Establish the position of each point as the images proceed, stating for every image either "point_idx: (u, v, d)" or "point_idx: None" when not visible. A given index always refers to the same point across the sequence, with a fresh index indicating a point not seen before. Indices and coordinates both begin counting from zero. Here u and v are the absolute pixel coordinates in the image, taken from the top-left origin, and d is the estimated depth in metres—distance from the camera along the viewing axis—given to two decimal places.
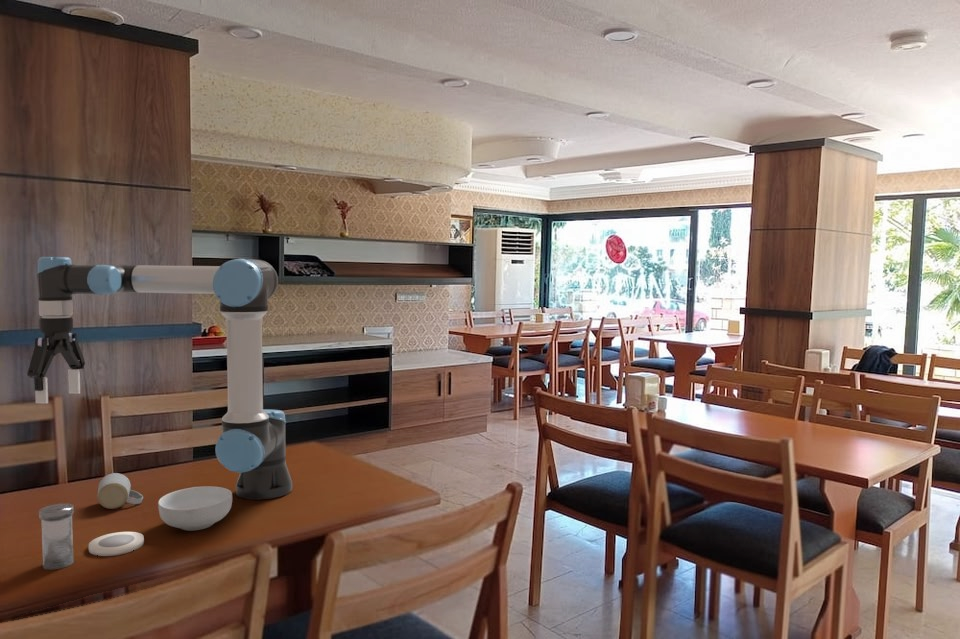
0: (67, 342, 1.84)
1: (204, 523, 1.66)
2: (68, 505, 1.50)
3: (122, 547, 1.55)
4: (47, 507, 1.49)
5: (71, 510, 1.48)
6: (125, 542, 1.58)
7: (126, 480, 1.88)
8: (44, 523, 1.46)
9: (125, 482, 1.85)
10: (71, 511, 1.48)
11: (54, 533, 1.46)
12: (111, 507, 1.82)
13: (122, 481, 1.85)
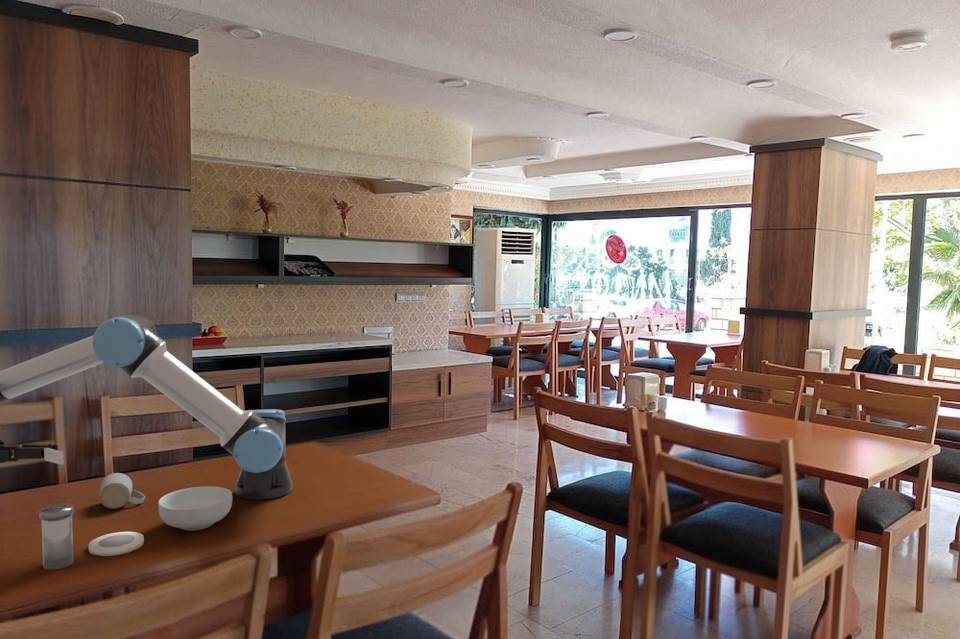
0: (1, 445, 1.61)
1: (204, 523, 1.66)
2: (68, 505, 1.50)
3: (122, 547, 1.55)
4: (47, 507, 1.49)
5: (71, 510, 1.48)
6: (125, 542, 1.58)
7: (128, 480, 1.88)
8: (44, 523, 1.46)
9: (127, 482, 1.86)
10: (71, 511, 1.48)
11: (54, 533, 1.46)
12: (113, 507, 1.82)
13: (124, 481, 1.85)
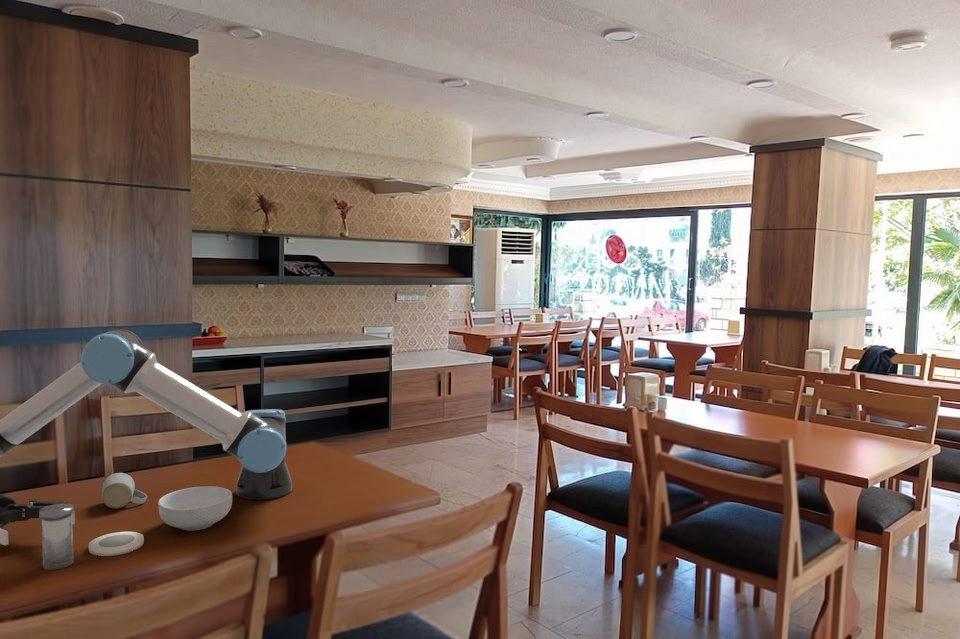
0: (12, 504, 1.59)
1: (204, 523, 1.66)
2: (68, 505, 1.50)
3: (122, 547, 1.55)
4: (47, 507, 1.49)
5: (71, 510, 1.48)
6: (125, 542, 1.58)
7: (131, 479, 1.88)
8: (44, 523, 1.46)
9: (129, 482, 1.86)
10: (71, 511, 1.48)
11: (54, 533, 1.46)
12: (115, 507, 1.82)
13: (126, 480, 1.85)
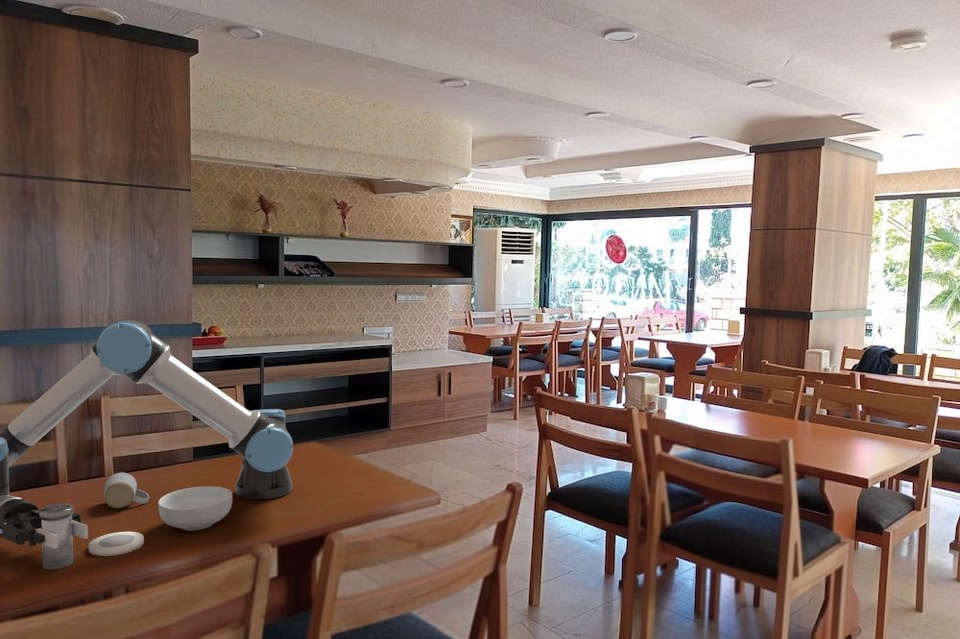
0: (34, 510, 1.55)
1: (204, 523, 1.66)
2: (68, 505, 1.50)
3: (122, 547, 1.55)
4: (47, 507, 1.49)
5: (71, 510, 1.48)
6: (125, 542, 1.58)
7: (133, 479, 1.88)
8: (44, 523, 1.46)
9: (131, 481, 1.86)
10: (71, 511, 1.48)
11: None
12: (117, 506, 1.82)
13: (128, 480, 1.85)
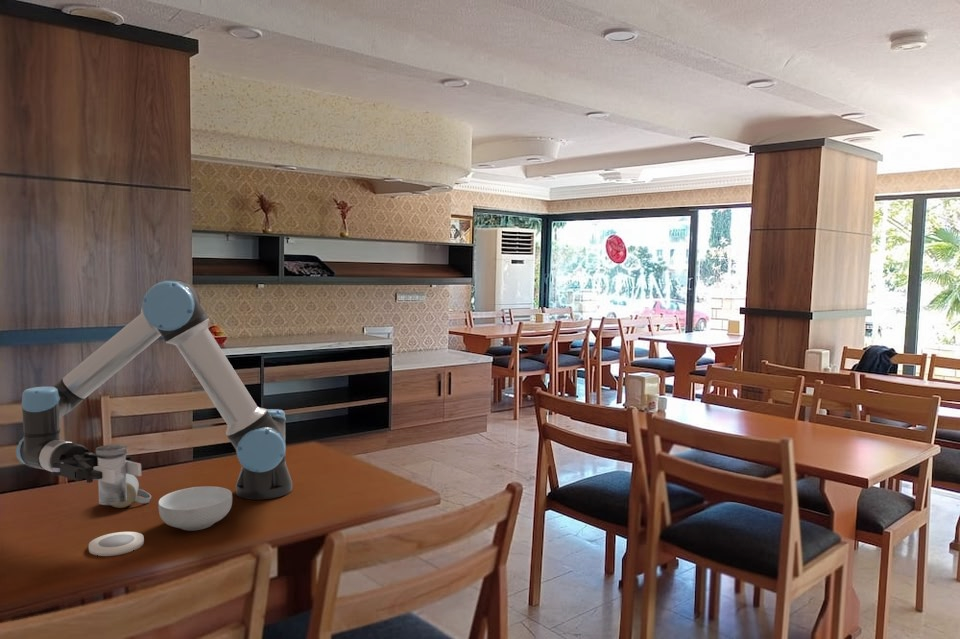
0: (87, 453, 1.63)
1: (204, 523, 1.66)
2: (121, 445, 1.58)
3: (122, 547, 1.55)
4: (102, 447, 1.57)
5: (125, 449, 1.57)
6: (125, 542, 1.58)
7: (135, 479, 1.88)
8: (100, 461, 1.54)
9: (133, 481, 1.86)
10: (125, 450, 1.57)
11: None
12: (119, 506, 1.82)
13: (130, 480, 1.85)
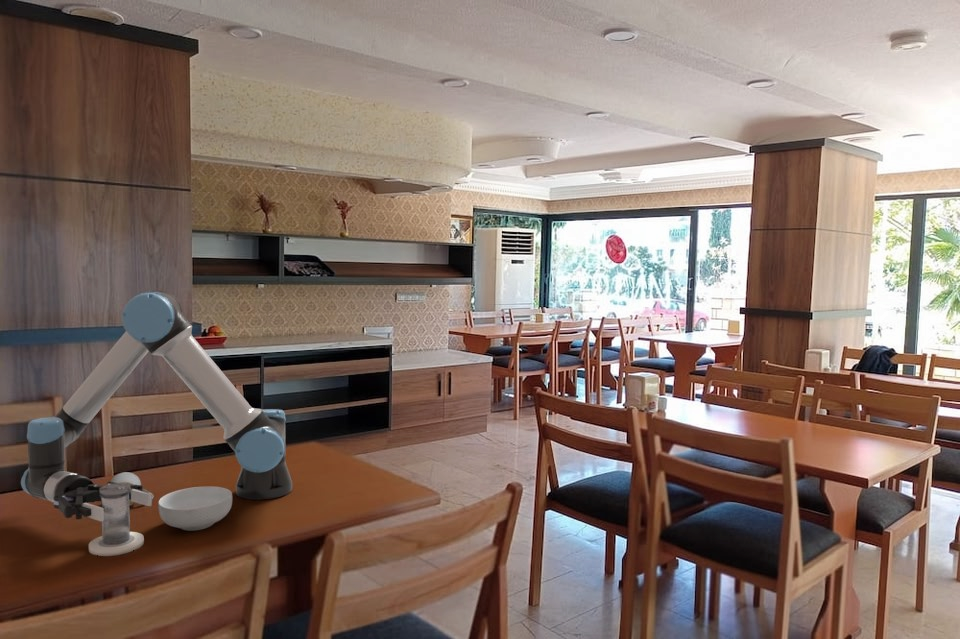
0: (91, 485, 1.65)
1: (204, 523, 1.66)
2: (125, 484, 1.60)
3: (122, 547, 1.55)
4: (106, 486, 1.59)
5: (128, 489, 1.58)
6: (125, 542, 1.58)
7: (137, 479, 1.89)
8: (104, 501, 1.56)
9: (136, 481, 1.86)
10: (128, 490, 1.58)
11: (114, 510, 1.56)
12: None
13: (133, 480, 1.85)
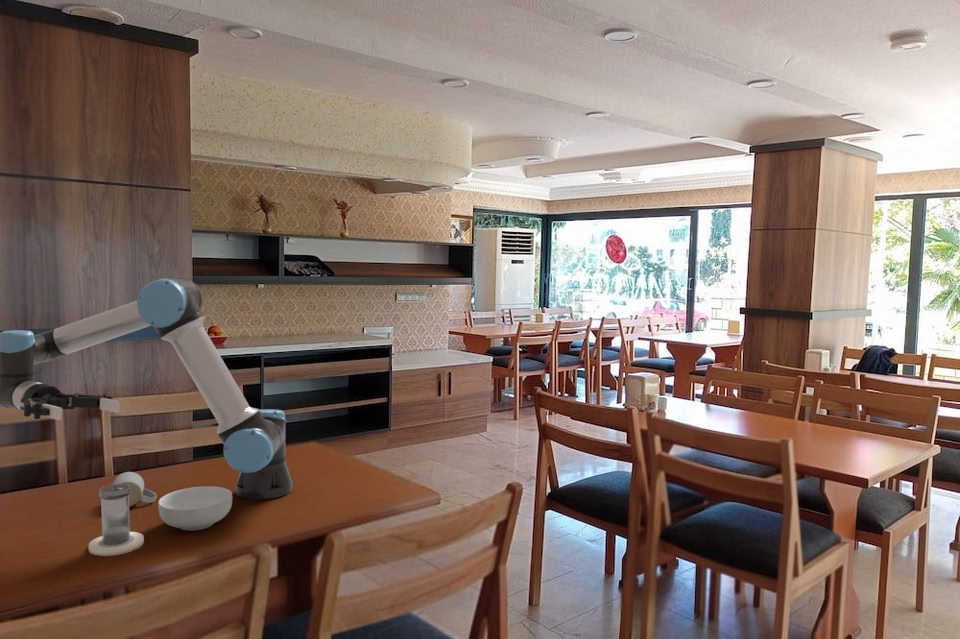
0: (60, 393, 1.70)
1: (204, 523, 1.66)
2: (125, 485, 1.60)
3: (122, 547, 1.55)
4: (106, 487, 1.58)
5: (128, 489, 1.58)
6: (125, 542, 1.58)
7: (140, 478, 1.89)
8: (104, 502, 1.55)
9: (139, 481, 1.87)
10: (128, 490, 1.58)
11: (114, 511, 1.56)
12: None
13: (136, 480, 1.86)
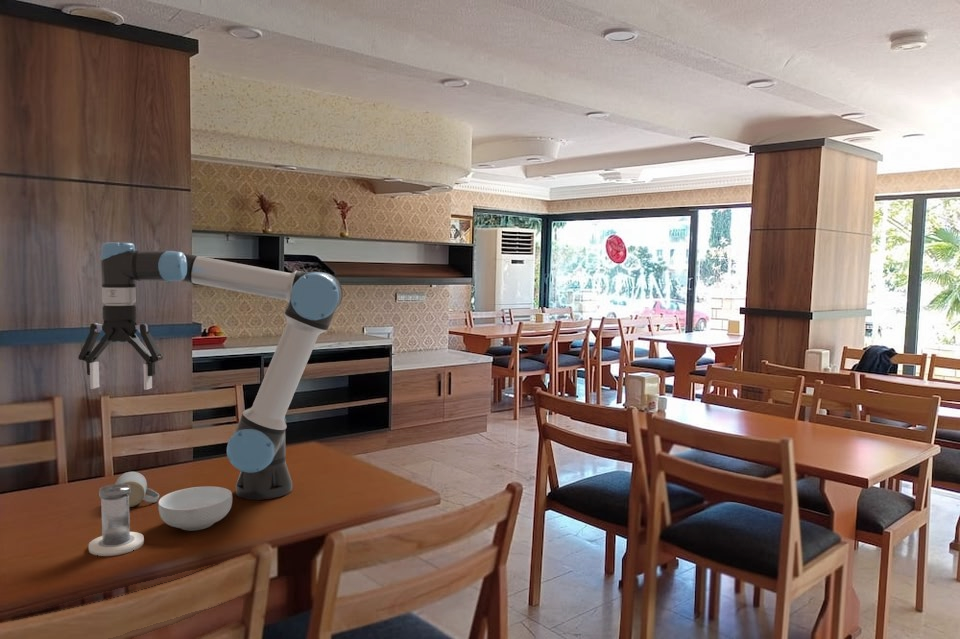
0: None
1: (204, 523, 1.66)
2: (125, 485, 1.60)
3: (122, 547, 1.55)
4: (106, 487, 1.58)
5: (128, 490, 1.58)
6: (125, 542, 1.58)
7: (143, 478, 1.89)
8: (104, 502, 1.55)
9: (142, 480, 1.87)
10: (128, 490, 1.58)
11: (114, 511, 1.56)
12: None
13: (139, 479, 1.86)
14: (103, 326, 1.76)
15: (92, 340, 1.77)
